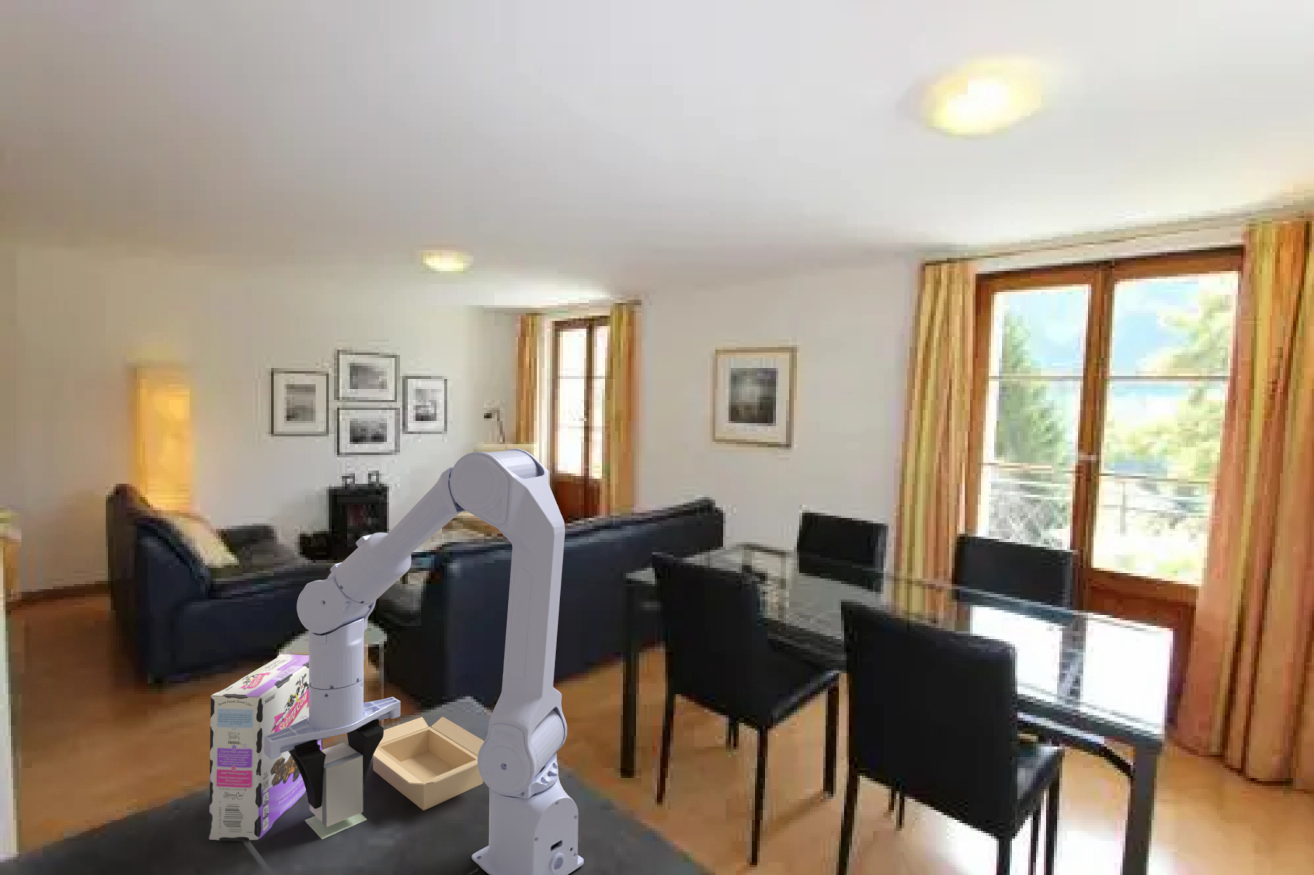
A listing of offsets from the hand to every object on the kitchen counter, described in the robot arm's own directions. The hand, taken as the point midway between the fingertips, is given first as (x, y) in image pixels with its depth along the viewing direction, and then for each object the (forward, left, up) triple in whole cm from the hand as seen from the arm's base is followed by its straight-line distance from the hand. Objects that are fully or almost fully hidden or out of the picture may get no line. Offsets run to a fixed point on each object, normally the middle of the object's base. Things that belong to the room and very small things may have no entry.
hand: (336, 796), depth 77 cm
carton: (+1, -12, -3) cm, 12 cm away
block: (0, 0, -2) cm, 2 cm away
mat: (0, 0, -3) cm, 3 cm away
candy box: (+9, +4, -3) cm, 10 cm away
